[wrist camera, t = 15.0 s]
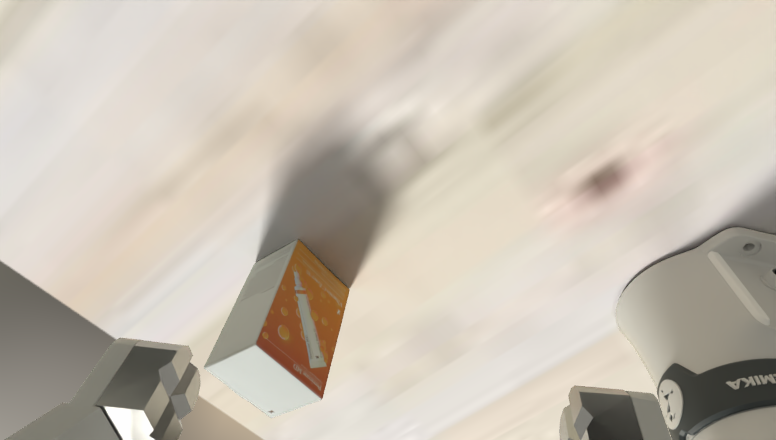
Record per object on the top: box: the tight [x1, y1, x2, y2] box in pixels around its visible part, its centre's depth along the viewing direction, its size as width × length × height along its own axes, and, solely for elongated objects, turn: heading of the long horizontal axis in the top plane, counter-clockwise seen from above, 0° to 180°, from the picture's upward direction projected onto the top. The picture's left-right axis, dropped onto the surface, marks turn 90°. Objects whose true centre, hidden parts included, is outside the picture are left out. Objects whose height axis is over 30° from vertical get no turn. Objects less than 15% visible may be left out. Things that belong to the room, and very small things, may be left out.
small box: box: [204, 239, 349, 418], centre depth 46 cm, size 8×6×13 cm
